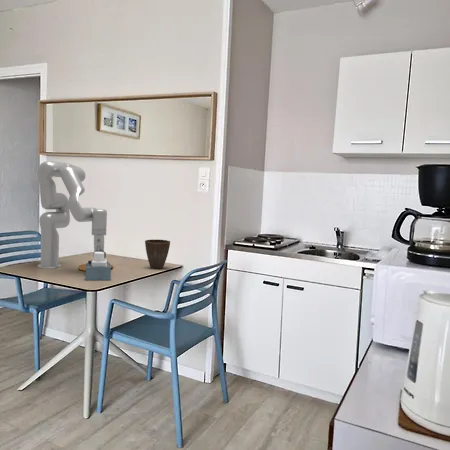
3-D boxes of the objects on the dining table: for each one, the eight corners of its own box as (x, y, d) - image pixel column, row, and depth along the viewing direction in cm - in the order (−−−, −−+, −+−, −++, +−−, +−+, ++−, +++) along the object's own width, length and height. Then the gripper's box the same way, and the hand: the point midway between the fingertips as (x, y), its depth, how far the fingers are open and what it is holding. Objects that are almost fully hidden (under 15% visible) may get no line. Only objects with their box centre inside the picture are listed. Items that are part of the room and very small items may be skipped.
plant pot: (157, 271, 244) (158, 243, 242) (138, 267, 252) (139, 240, 250) (174, 267, 256) (175, 241, 255) (155, 264, 264) (156, 238, 263)
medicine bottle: (92, 272, 223) (93, 250, 222) (106, 273, 224) (107, 250, 223) (90, 275, 216) (91, 252, 215) (105, 276, 217) (106, 252, 216)
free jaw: (85, 271, 225) (86, 260, 224) (109, 270, 228) (109, 260, 228) (85, 272, 221) (86, 261, 221) (109, 272, 225) (110, 261, 224)
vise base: (86, 270, 235) (86, 258, 235) (108, 270, 239) (108, 258, 238) (85, 280, 211) (85, 267, 211) (110, 280, 215) (110, 267, 214)
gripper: (106, 233, 221) (105, 268, 223) (105, 230, 235) (104, 263, 237) (91, 233, 219) (90, 268, 220) (91, 230, 233) (90, 263, 235)
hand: (97, 265), depth 229 cm, fingers closed
